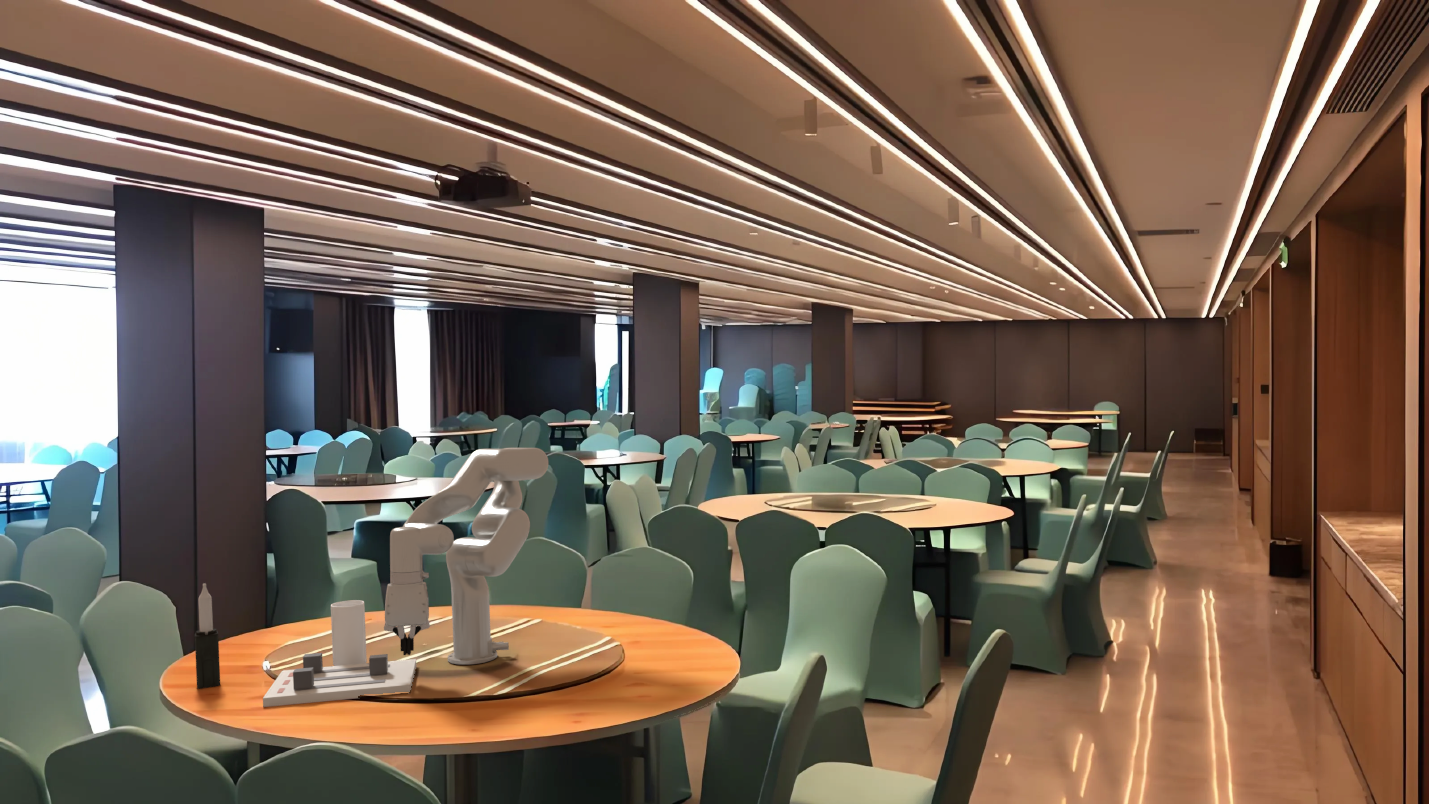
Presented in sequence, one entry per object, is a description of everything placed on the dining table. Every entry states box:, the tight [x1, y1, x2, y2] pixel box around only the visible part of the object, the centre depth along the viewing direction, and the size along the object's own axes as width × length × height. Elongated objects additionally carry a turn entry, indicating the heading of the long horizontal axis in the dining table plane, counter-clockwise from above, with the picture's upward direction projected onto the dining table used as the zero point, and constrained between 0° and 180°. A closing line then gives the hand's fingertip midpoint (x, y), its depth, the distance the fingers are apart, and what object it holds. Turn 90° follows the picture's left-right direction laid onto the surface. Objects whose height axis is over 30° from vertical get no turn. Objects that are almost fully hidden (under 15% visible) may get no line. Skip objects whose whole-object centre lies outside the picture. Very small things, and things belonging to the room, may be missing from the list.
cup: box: [330, 599, 368, 666], centre depth 271 cm, size 8×8×16 cm
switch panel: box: [262, 652, 417, 708], centre depth 252 cm, size 32×24×6 cm
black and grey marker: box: [194, 582, 221, 690], centre depth 256 cm, size 5×5×25 cm
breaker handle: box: [368, 653, 389, 675], centre depth 253 cm, size 4×3×4 cm
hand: (407, 653), depth 254 cm, fingers closed
